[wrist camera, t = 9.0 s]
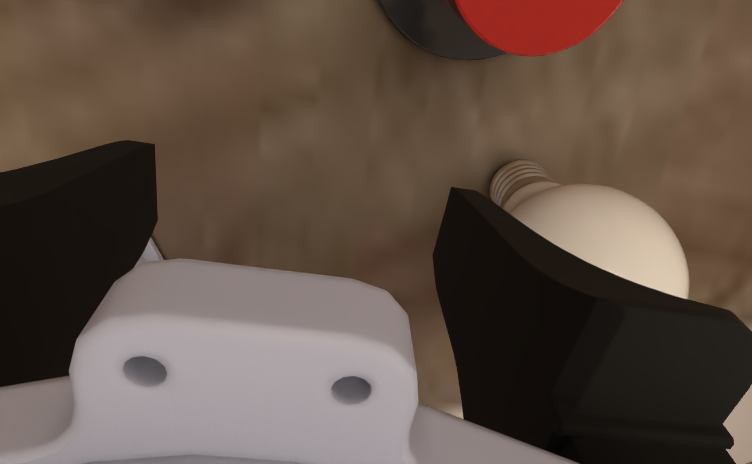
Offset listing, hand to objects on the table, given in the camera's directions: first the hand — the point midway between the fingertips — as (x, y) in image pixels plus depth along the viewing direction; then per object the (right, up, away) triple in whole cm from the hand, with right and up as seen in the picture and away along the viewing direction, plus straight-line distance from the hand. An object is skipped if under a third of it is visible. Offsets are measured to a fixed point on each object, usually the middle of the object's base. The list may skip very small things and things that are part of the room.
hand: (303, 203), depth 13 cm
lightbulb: (+8, +2, +12) cm, 14 cm away
